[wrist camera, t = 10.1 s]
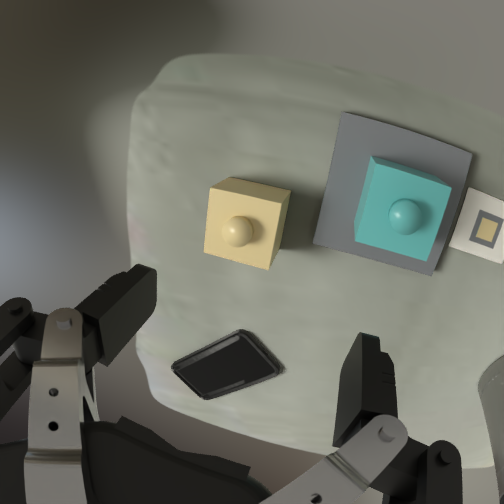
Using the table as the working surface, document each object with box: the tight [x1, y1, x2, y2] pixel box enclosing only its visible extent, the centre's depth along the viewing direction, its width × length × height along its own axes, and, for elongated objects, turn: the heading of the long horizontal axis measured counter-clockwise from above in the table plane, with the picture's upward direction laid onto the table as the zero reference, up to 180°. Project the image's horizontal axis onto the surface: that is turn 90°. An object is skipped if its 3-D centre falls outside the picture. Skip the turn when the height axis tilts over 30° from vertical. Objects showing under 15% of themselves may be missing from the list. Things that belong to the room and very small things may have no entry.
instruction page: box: [449, 187, 504, 264], centre depth 24 cm, size 7×6×1 cm
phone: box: [171, 329, 280, 400], centre depth 40 cm, size 8×1×15 cm
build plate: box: [312, 112, 472, 276], centre depth 25 cm, size 12×12×2 cm
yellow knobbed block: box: [204, 177, 291, 270], centre depth 28 cm, size 6×6×6 cm
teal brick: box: [354, 156, 452, 261], centre depth 22 cm, size 6×6×6 cm
